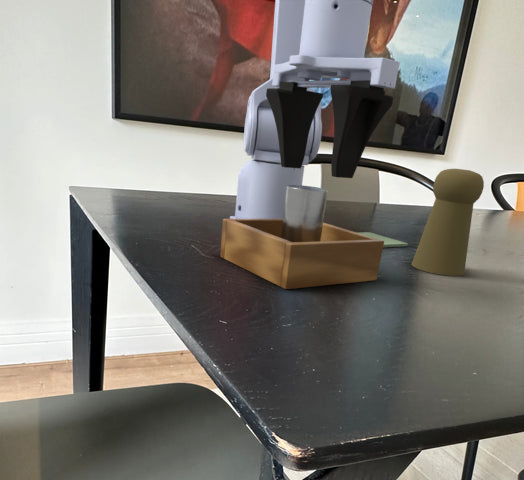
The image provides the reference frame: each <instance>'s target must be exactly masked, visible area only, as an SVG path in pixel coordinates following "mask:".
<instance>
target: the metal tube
mask: <svg viewBox="0 0 524 480" xmlns="http://www.w3.org/2000/svg"><path fill="white" fill-rule="evenodd" d="M328 194H329V190H328V189H327V188H323V187H318V186H312V185H311V186H310V185H304V184H302V185H287V190H286V199H285V207H284V216H283V224H282V233H281V238H282V239H285V240H287V241H290V242H292V243H293V242H320V241H321V235H322V228H323V223H324V220H325V214H326V208H327V207H326V206H327V202H328Z"/></svg>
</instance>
